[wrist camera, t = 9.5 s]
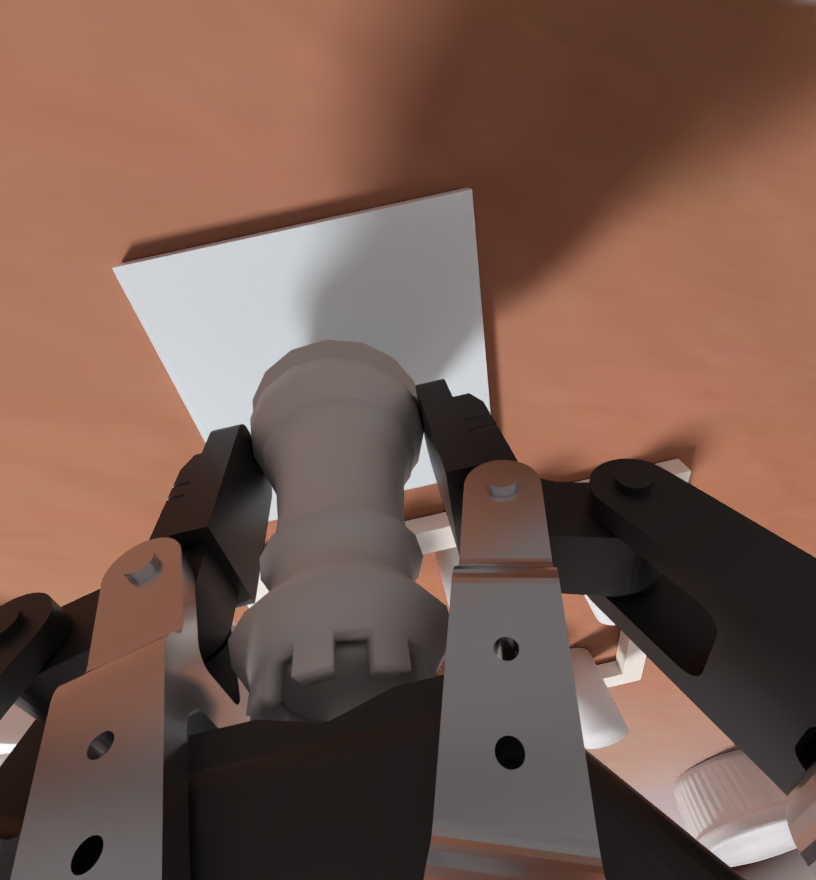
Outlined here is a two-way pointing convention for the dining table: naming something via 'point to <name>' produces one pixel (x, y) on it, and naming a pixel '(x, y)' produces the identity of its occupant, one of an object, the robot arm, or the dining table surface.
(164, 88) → the dining table surface
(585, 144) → the dining table surface
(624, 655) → the frame
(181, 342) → the tile
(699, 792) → the ramekin
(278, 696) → the rook chess piece
